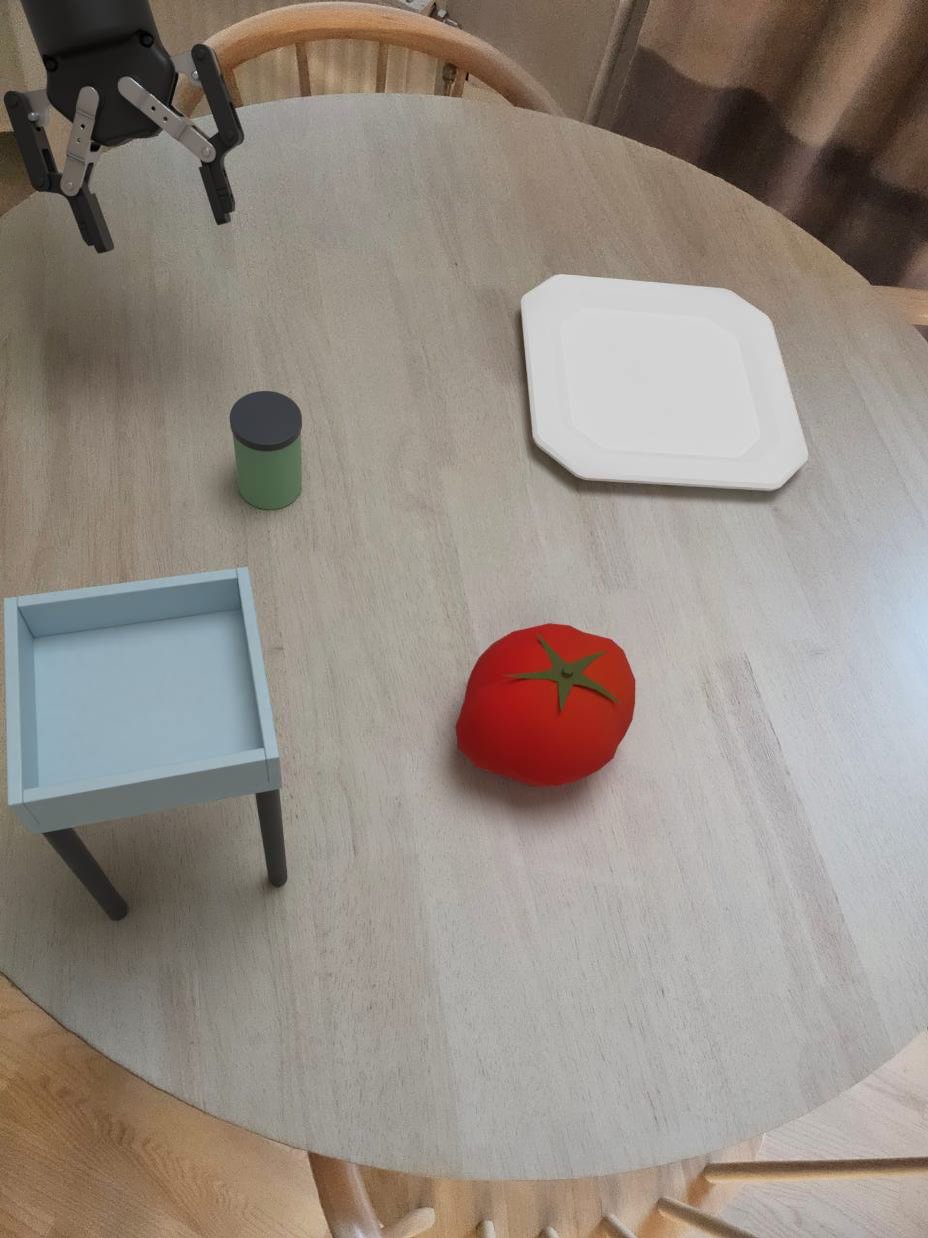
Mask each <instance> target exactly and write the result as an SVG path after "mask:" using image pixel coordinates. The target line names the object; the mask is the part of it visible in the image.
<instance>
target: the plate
mask: <svg viewBox="0 0 928 1238" xmlns="http://www.w3.org/2000/svg"><path fill="white" fill-rule="evenodd" d="M519 305H520V315H521V316H520V317H521V325H522V326H521V327H522V339H523V348H524V359H525V369H526V380H527V391H528V403H529V412H530V423H531V425H530V426H531V434H532V440H533V442H534V443H535V445H536V447H538V448H539V449H541V451H542V452H544V453H546V454H547V455H548V456H549V457H550V458H552V459H553V460H555V461H556V462H557V463H558V464H559V465H561V467H563V468H564V469H565V470H567V471H568V472H570V474H572V475H573V476H574V477H576V478H578V479H581V480H584V481H593V482H611V483H628V484H629V483H631V484H647V485H648V484H649V485H660V486H661V485H663V486H664V485H665V486H679V487H681V486H682V487H698V488H713V489H730V490H731V489H732V490H747V491H749V490H750V491H766V492H773V491H775V490H779V489H781V488H782V487H783V486H784V485H785V484H786V483H787V482H789V480H790V479H791V478H792V477H793V476H794V475H795V474H796V473H797V472H798V471H799V470H800V469H801V468H802V467H803V466H804V465H805V464H806V463H807V462H808V459H809V455H810V454H809V449H808V446H807V443H806V439H805V436H804V431H803V428H802V425H801V421H800V417H799V414H798V410H797V406H796V403H795V399H794V397H793V392H792V389H791V385H790V381H789V377H788V375H787V370H786V367H785V363H784V360H783V356H782V353H781V349H780V345H779V342H778V339H777V335H776V330H775V327H774V323H773V320H771V319H770V317H769V316H768V315H767V314H766V313H764V312H763V311H761V310H760V309H758V308H757V307H756V306H754V305H752V303H749V301H747V300H745V299H744V298H743V297H742V296H739V294H737V293H735V292H734V291H732V290H730V289H727V288H723V287H714V286H713V287H712V286H701V285H690V284H689V285H688V284H680V283H679V284H678V283H669V282H658V281H657V282H655V281H645V280H634V279H623V278H622V279H621V278H609V277H599V276H587V275H575V274H566V273H565V274H564V273H560V274H553V275H552V276H550V277H549V278H547V279H545V280H544V281H543V282H541V283H540V284H538V285H537V286H535V287H533V288H532V289H531V290H529V291H527V292H526V293H525V294H524V295H522V297H521V299H520V302H519Z"/></svg>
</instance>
